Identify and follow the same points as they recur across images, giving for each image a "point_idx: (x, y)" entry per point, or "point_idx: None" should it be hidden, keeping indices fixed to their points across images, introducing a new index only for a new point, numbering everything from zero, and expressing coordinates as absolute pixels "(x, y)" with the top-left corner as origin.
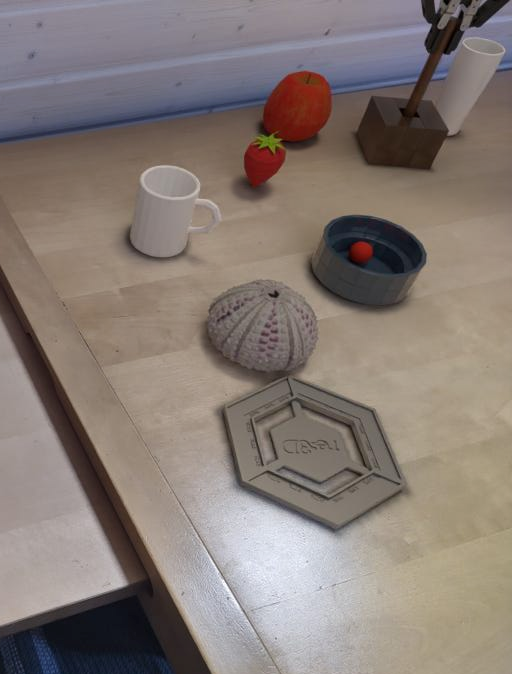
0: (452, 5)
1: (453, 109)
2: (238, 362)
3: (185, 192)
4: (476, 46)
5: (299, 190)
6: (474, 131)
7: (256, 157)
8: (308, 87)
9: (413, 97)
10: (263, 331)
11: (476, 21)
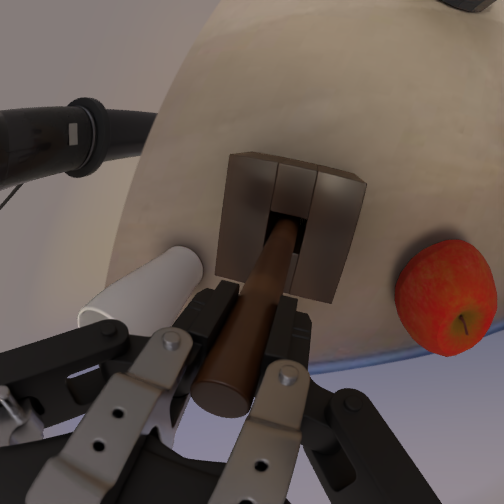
0: (273, 467)
1: (172, 266)
2: None
3: None
4: None
5: (480, 124)
6: (142, 256)
7: None
8: (485, 298)
9: (292, 240)
10: None
11: (116, 343)
